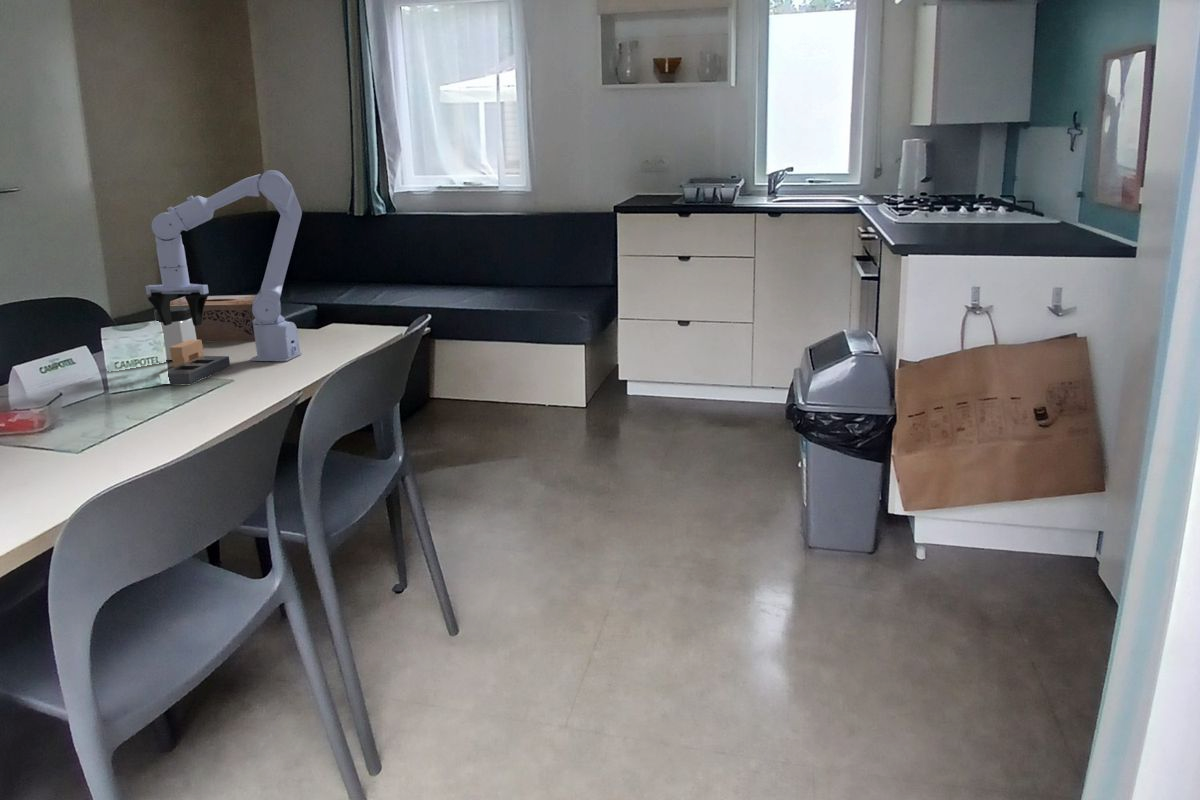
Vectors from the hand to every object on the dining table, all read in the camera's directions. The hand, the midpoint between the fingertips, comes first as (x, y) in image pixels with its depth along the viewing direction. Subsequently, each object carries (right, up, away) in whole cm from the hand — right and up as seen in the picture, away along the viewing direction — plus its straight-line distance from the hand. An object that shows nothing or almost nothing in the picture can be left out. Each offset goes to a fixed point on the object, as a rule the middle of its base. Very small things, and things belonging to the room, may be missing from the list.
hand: (182, 324), depth 212 cm
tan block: (0, -9, +3) cm, 10 cm away
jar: (-6, -7, +13) cm, 16 cm away
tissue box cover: (-6, 0, +36) cm, 36 cm away
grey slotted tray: (+6, -12, -6) cm, 15 cm away
